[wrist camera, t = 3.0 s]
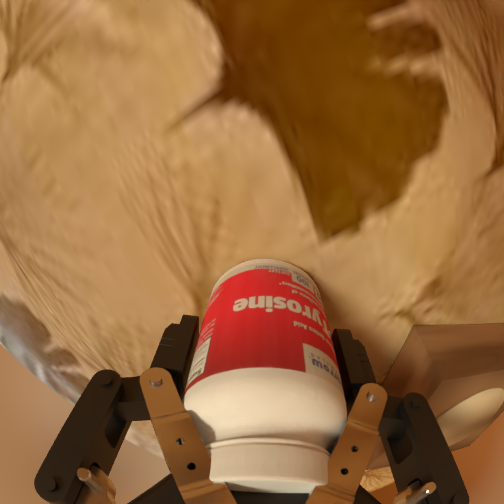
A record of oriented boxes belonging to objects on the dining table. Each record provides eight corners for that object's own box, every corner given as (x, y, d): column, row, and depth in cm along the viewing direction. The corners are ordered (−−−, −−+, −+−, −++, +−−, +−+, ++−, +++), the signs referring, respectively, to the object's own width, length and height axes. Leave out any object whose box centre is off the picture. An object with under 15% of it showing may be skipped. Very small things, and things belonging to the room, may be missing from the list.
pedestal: (413, 325, 17) (443, 382, 13) (514, 322, 17) (544, 360, 13) (356, 423, 23) (366, 471, 18) (454, 410, 23) (469, 447, 18)
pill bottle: (341, 282, 16) (403, 474, 6) (286, 354, 18) (293, 521, 9) (237, 234, 15) (196, 450, 5) (195, 319, 17) (147, 497, 8)
